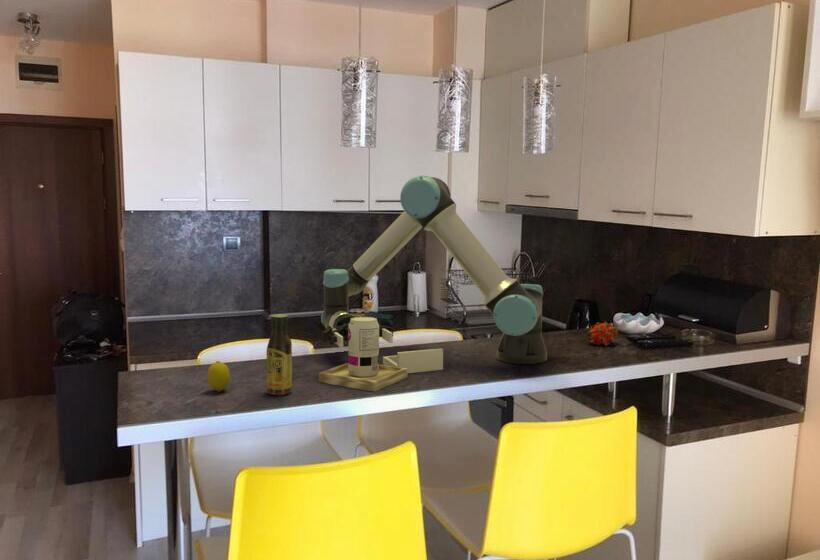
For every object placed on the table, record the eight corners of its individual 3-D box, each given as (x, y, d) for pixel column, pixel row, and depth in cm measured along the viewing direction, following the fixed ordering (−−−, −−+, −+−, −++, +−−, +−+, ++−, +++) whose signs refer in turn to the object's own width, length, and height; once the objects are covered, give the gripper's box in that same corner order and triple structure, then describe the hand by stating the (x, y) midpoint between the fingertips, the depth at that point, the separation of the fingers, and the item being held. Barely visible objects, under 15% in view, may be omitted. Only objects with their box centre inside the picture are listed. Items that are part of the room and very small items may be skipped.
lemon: (210, 389, 170) (209, 358, 169) (232, 388, 170) (231, 358, 169) (205, 395, 165) (204, 363, 164) (228, 394, 165) (227, 363, 164)
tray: (407, 377, 181) (407, 368, 181) (374, 391, 167) (374, 382, 167) (353, 368, 190) (353, 360, 190) (318, 382, 176) (318, 372, 176)
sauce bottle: (261, 394, 166) (259, 315, 163) (279, 388, 171) (277, 312, 168) (280, 398, 162) (278, 318, 160) (298, 392, 167) (296, 314, 165)
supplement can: (344, 376, 176) (344, 320, 174) (354, 369, 183) (354, 315, 182) (373, 378, 174) (373, 322, 172) (382, 371, 182) (382, 317, 180)
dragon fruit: (620, 348, 223) (589, 356, 219) (607, 330, 228) (577, 337, 225) (628, 331, 217) (596, 339, 213) (614, 313, 222) (583, 320, 219)
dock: (424, 359, 201) (424, 339, 201) (442, 369, 189) (443, 349, 188) (382, 363, 197) (382, 343, 196) (398, 374, 184) (398, 353, 183)
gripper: (385, 335, 199) (411, 350, 179) (303, 342, 190) (320, 358, 170) (385, 310, 198) (410, 322, 178) (302, 316, 189) (320, 329, 169)
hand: (366, 340), depth 174 cm, fingers open, 13 cm apart
